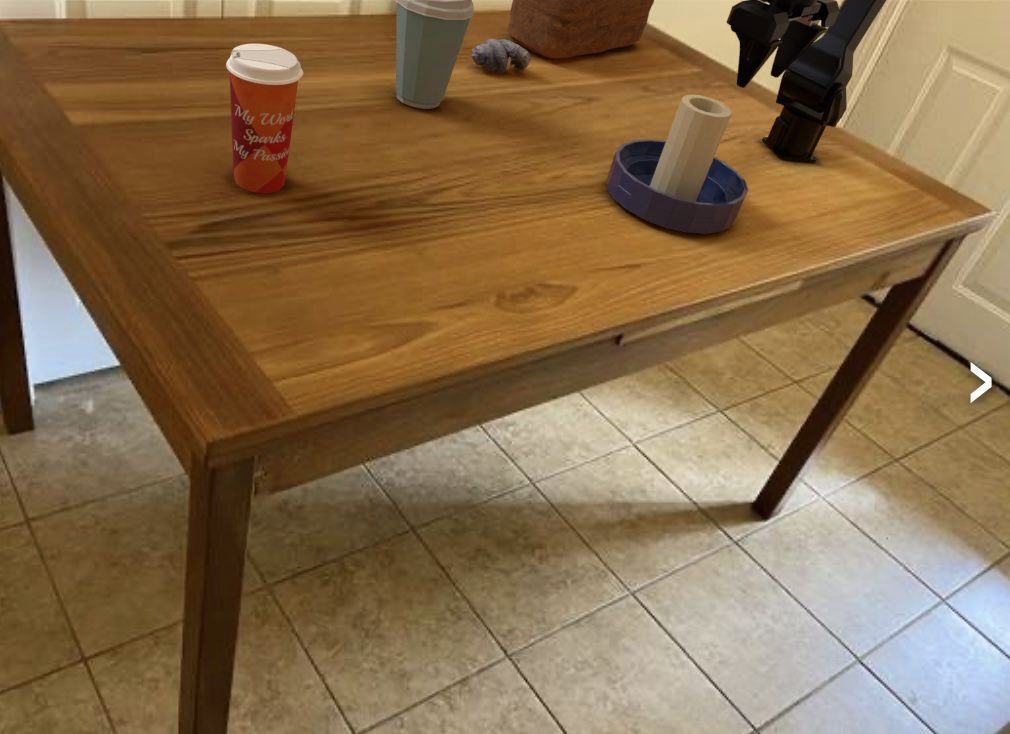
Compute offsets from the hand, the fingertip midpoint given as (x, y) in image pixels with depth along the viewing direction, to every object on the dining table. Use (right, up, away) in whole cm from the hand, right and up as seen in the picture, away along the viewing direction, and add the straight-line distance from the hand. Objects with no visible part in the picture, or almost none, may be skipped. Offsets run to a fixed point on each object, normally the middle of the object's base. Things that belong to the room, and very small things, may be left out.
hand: (757, 81), depth 115 cm
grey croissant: (-33, +10, +23) cm, 41 cm away
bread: (-18, +21, +39) cm, 48 cm away
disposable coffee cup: (-45, +1, +9) cm, 46 cm away
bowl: (-12, -16, -2) cm, 20 cm away
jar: (-12, -16, -2) cm, 20 cm away
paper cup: (-62, -18, -16) cm, 66 cm away
